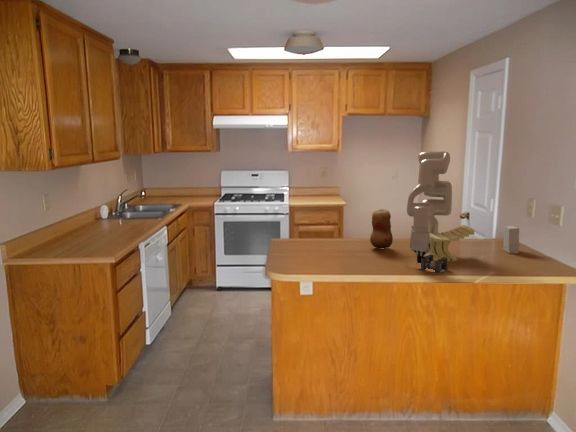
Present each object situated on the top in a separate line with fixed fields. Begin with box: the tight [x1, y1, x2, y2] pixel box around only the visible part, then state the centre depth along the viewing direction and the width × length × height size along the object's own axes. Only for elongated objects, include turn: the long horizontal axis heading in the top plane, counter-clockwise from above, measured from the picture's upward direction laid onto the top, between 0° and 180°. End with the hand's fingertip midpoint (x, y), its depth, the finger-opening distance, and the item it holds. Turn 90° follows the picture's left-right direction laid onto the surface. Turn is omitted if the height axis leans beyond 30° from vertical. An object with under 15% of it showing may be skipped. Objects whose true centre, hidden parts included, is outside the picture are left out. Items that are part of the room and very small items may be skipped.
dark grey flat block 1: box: [420, 254, 434, 271], centre depth 241 cm, size 2×9×6 cm, turn 133°
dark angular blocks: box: [434, 257, 448, 275], centre depth 235 cm, size 2×9×8 cm, turn 133°
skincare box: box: [503, 225, 520, 254], centre depth 266 cm, size 8×6×15 cm
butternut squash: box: [369, 208, 394, 249], centre depth 282 cm, size 14×13×25 cm
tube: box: [426, 259, 443, 271], centre depth 239 cm, size 10×4×4 cm, turn 43°
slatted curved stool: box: [410, 224, 475, 262], centre depth 258 cm, size 30×16×18 cm, turn 94°
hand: (420, 262), depth 244 cm, fingers closed
